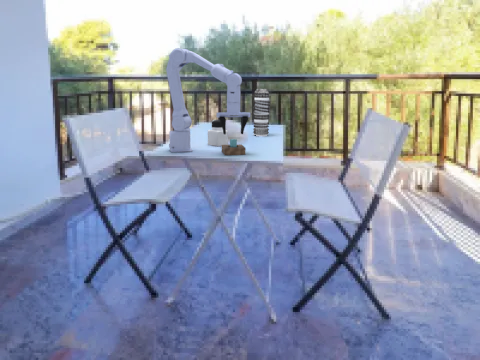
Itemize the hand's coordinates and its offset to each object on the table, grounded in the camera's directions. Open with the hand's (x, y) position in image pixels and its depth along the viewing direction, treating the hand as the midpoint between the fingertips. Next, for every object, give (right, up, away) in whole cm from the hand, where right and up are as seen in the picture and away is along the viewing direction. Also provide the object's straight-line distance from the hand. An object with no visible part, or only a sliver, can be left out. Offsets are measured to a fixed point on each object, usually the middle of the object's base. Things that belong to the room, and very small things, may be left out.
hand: (233, 134), depth 203 cm
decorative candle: (+14, +4, +55) cm, 57 cm away
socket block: (0, -8, +2) cm, 8 cm away
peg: (0, -8, +2) cm, 8 cm away
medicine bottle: (-8, -3, +23) cm, 24 cm away
